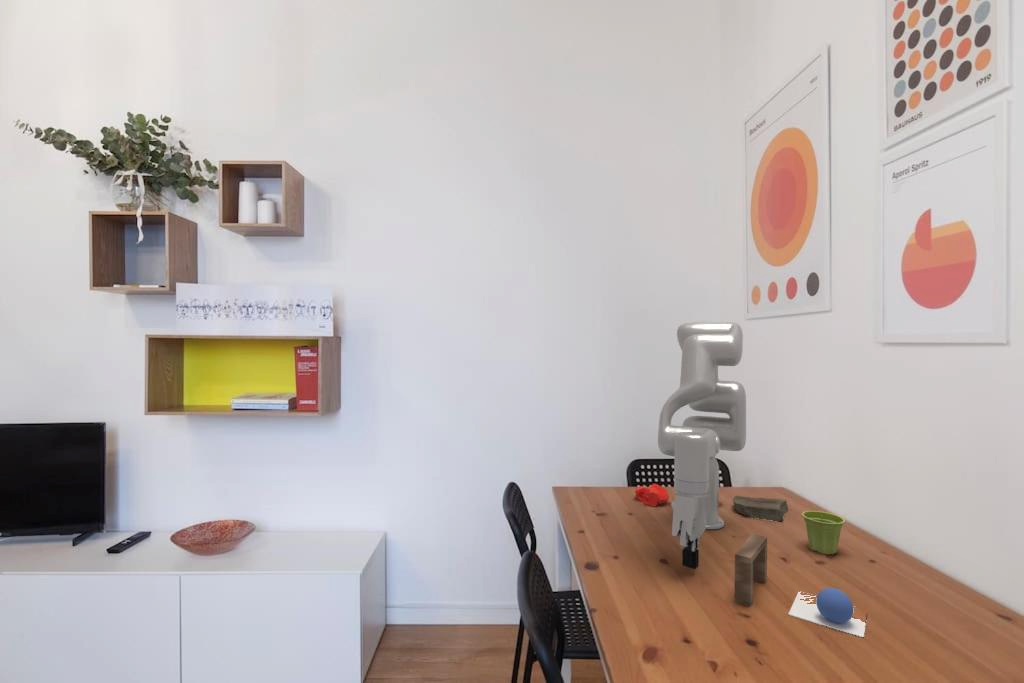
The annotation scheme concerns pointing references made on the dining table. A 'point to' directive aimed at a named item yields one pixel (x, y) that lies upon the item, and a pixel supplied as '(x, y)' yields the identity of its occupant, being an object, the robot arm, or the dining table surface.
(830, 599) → the ball
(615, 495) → the dining table surface
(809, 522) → the plant pot
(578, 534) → the dining table surface
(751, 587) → the bridge
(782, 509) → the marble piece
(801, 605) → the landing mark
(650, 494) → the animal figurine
